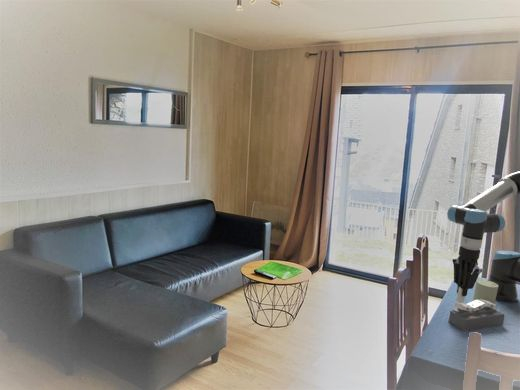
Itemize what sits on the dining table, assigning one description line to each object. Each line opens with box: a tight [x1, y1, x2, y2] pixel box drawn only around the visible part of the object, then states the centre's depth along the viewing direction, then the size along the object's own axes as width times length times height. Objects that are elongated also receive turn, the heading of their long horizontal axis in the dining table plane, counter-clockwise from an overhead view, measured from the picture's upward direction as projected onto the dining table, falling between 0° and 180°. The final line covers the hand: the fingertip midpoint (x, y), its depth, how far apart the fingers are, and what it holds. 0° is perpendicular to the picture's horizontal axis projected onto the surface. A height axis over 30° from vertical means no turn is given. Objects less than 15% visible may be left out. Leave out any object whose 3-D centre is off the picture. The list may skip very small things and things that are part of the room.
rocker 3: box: [479, 299, 498, 310], centre depth 177 cm, size 6×4×2 cm
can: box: [472, 279, 498, 305], centre depth 192 cm, size 9×9×12 cm
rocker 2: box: [465, 300, 485, 311], centre depth 175 cm, size 6×4×2 cm
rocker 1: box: [453, 301, 473, 312], centre depth 172 cm, size 6×4×2 cm
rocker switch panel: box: [448, 306, 505, 332], centre depth 174 cm, size 22×8×6 cm, turn 112°
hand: (460, 302), depth 171 cm, fingers closed
